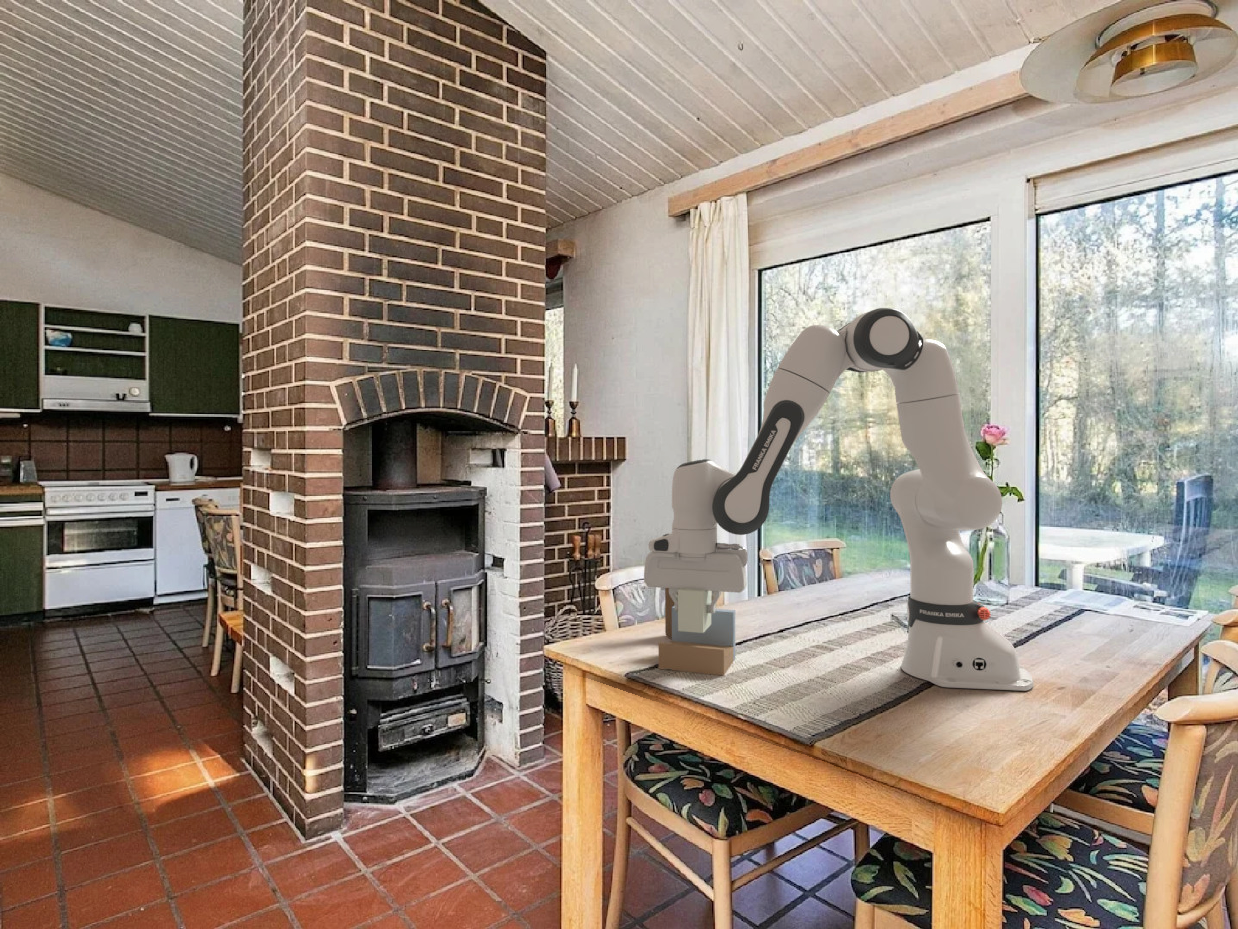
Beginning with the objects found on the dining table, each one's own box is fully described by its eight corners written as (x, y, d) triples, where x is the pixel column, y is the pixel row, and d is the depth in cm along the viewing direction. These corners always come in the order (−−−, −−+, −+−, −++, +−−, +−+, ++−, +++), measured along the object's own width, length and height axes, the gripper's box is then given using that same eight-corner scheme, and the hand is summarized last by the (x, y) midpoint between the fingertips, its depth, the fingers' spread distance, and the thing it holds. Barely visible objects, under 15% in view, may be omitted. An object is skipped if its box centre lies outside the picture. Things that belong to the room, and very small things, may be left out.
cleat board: (735, 658, 148) (735, 610, 148) (723, 675, 138) (723, 623, 137) (674, 652, 153) (674, 605, 152) (658, 668, 142) (658, 618, 142)
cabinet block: (711, 624, 145) (711, 578, 144) (703, 633, 138) (703, 585, 138) (687, 622, 146) (686, 577, 146) (678, 630, 140) (677, 583, 140)
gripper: (750, 541, 141) (750, 611, 142) (650, 538, 148) (651, 604, 149) (744, 546, 135) (744, 619, 136) (640, 542, 142) (641, 611, 143)
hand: (694, 611), depth 142 cm, fingers closed on cabinet block, 5 cm apart
